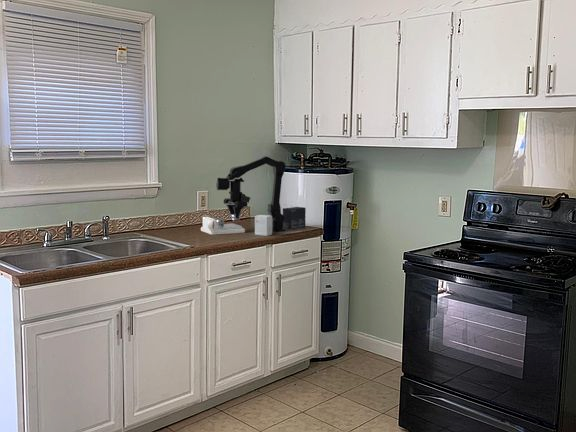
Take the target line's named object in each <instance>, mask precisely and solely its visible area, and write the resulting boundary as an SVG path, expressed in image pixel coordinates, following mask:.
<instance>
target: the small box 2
mask: <svg viewBox="0 0 576 432" xmlns="http://www.w3.org/2000/svg"><path fill="white" fill-rule="evenodd" d="M306 209H307V208H306V207H303V206H293V207H284V208H282V215H283V216H284V217H285V218H284V221H283V229H284V228H285V229H284V230H290V229H292V230H296V229H297V228H298V229H302V228H306Z"/></svg>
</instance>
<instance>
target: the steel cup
mask: <svg viewBox="0 0 576 432" xmlns="http://www.w3.org/2000/svg"><path fill="white" fill-rule="evenodd" d="M240 215H241V214H240ZM240 215H239V218H238V219H236V216H235V214H230V220H231V221H240V218H241V217H240Z"/></svg>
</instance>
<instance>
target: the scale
mask: <svg viewBox="0 0 576 432" xmlns="http://www.w3.org/2000/svg"><path fill="white" fill-rule="evenodd" d="M215 219H216V218H213V217H209V216H203V217H202V226H201V227H200V231H201V232H204V233H206V234H209V235H226V234H227V235H228V234H229V235H230V234H242V233H245V232H246V229H245V228H244V227H242V228H237V229H220V228H218V222H217V221H216V220H215Z"/></svg>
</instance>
